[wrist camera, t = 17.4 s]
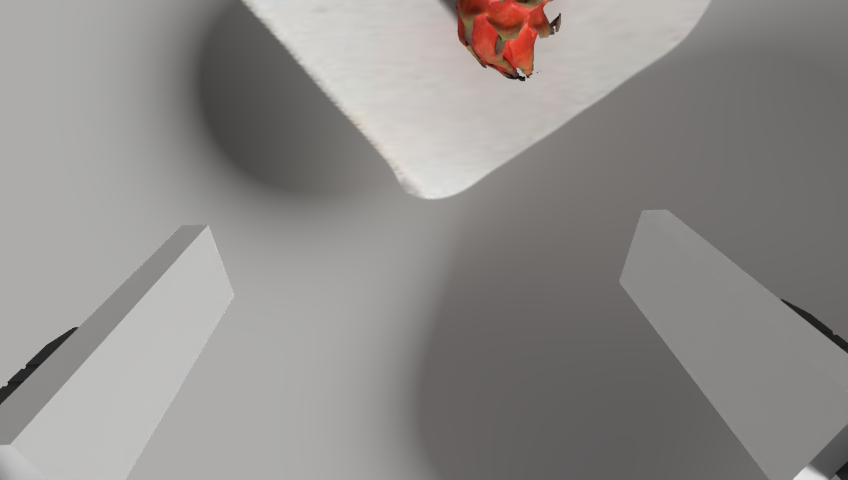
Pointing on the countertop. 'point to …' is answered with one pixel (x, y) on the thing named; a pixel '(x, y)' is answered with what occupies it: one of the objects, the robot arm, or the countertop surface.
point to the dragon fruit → (504, 32)
